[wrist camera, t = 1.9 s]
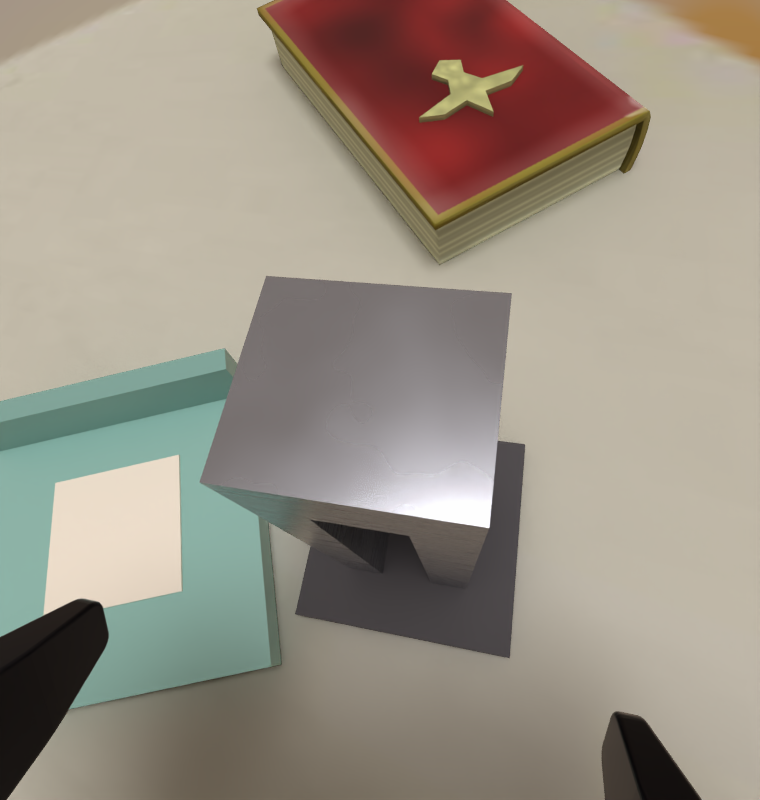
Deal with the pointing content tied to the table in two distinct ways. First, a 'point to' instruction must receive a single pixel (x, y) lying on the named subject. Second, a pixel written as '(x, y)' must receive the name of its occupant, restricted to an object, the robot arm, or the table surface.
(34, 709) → the robot arm
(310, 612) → the mat
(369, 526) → the grey tower block
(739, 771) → the table surface
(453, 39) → the hardcover book
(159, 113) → the table surface
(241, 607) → the teal base plate
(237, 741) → the table surface
